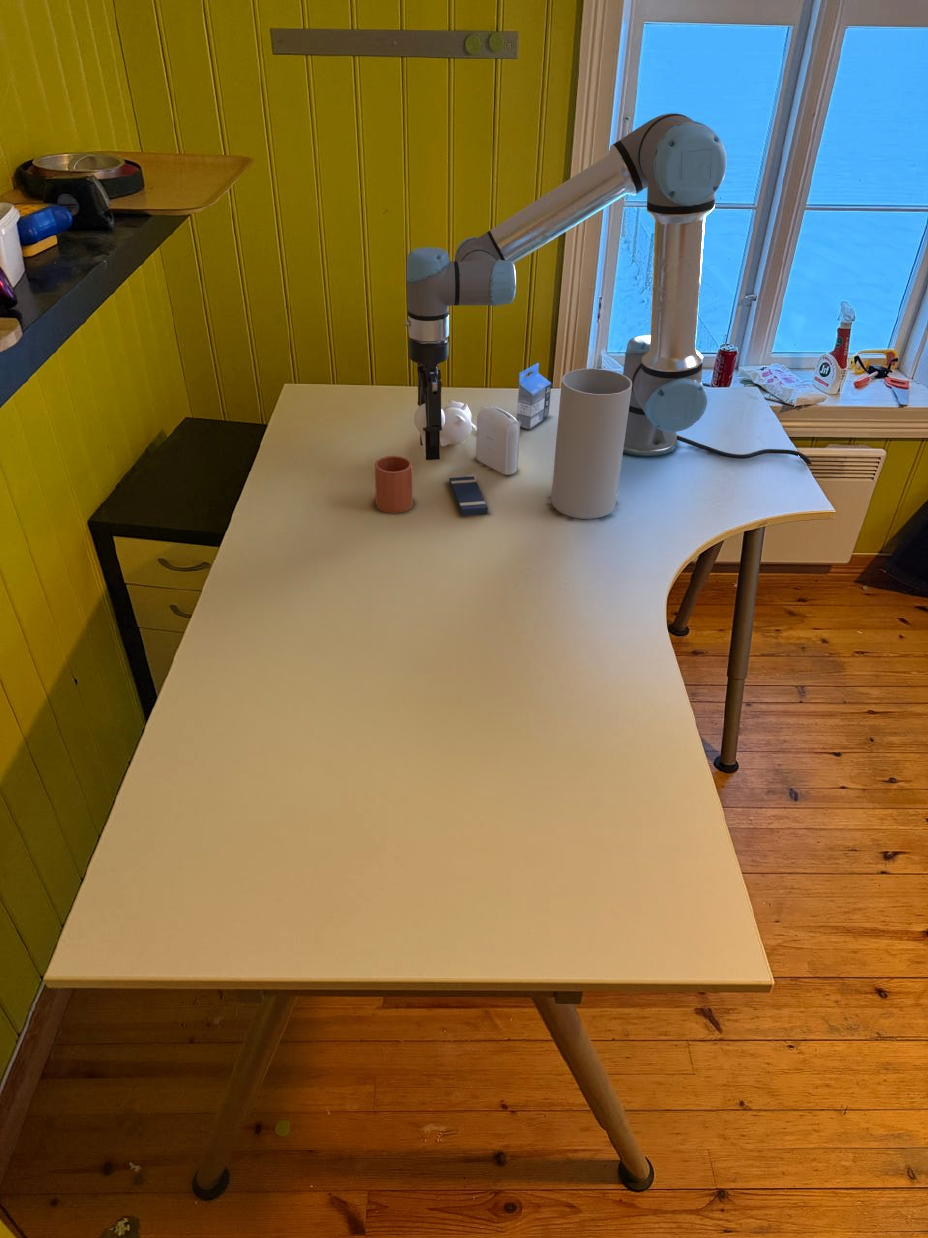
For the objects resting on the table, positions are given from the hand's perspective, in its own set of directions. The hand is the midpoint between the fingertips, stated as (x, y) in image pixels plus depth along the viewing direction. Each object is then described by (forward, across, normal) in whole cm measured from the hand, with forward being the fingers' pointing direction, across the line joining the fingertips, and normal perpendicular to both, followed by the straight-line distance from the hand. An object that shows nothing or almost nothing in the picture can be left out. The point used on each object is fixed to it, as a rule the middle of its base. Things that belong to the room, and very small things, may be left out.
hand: (429, 451), depth 183 cm
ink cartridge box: (+6, -22, +27) cm, 36 cm away
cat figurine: (+6, -16, +9) cm, 19 cm away
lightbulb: (+1, 0, 0) cm, 1 cm away
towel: (+5, +11, +6) cm, 13 cm away
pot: (+5, +11, -9) cm, 15 cm away
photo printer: (+6, -2, +14) cm, 15 cm away
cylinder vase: (+6, +17, +27) cm, 33 cm away
